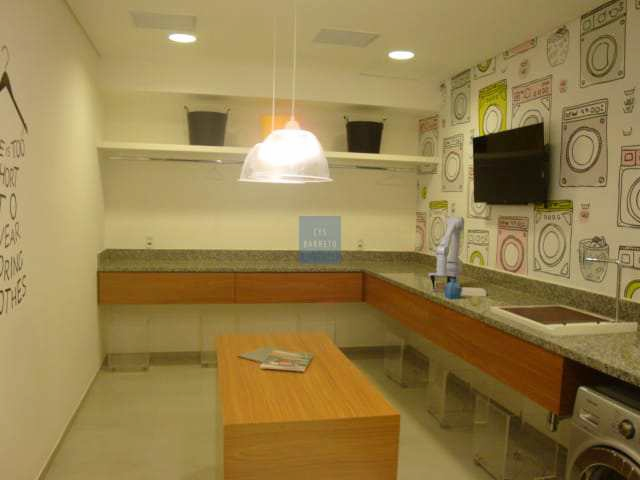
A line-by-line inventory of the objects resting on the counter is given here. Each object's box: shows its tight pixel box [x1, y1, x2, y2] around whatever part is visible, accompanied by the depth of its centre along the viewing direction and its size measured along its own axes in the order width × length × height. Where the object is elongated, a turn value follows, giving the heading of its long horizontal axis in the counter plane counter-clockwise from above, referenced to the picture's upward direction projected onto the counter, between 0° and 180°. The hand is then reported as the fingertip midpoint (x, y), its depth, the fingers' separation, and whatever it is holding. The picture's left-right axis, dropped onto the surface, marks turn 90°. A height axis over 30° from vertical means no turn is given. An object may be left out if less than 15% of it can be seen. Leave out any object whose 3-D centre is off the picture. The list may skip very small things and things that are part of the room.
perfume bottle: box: [444, 276, 462, 300], centre depth 288 cm, size 6×6×12 cm
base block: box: [461, 286, 487, 297], centre depth 304 cm, size 12×12×3 cm
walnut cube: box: [435, 282, 446, 294], centre depth 306 cm, size 5×5×5 cm
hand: (440, 289), depth 306 cm, fingers open, 7 cm apart
